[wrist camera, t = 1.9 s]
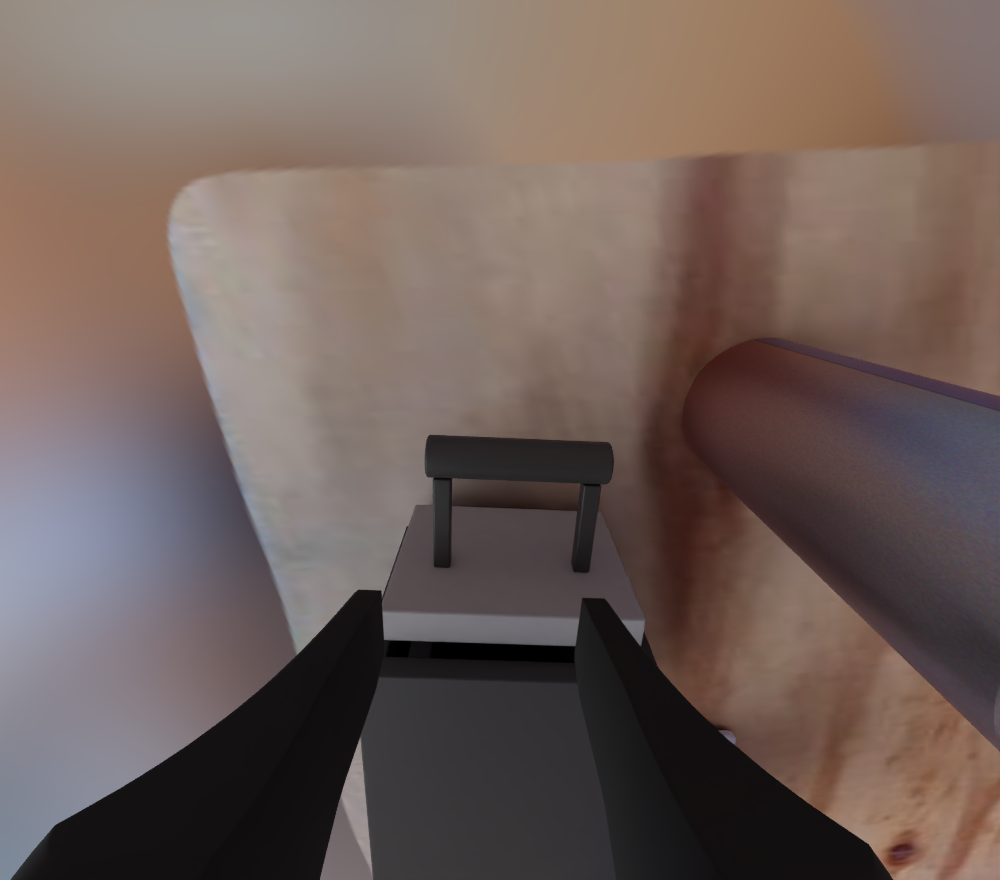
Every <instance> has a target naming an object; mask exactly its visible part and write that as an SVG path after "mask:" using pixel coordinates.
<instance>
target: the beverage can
mask: <svg viewBox="0 0 1000 880" xmlns="http://www.w3.org/2000/svg"><path fill="white" fill-rule="evenodd" d="M682 426H683V432H684V436H685V439H686V442H687V444H688V446H689V448H690V449H691V451H692V452H693V454H694V455H695V456H696V457H697V458H698V459H699V460H700V461H701V462H702V463H703V464H704V465H705V466H706V467H707V468H708V469H709V470H710V471H711V472H712V473H713V474H714V475H715V476H716V477H717V478H718V479H719V480H720V481H721V482H722V483H723V484H725V485H726V486H727V487H728V488H729V489H730V490H731V491H732V492H733V493H734V494H735V495H736V496H737V497H738V498H739V499H740V500H741V501H742V502H743V503H744V504H745V505H746V506H747V507H748V508H749V509H750V510H751V511H752V512H753V513H754V514H755V515H756V516H757V517H759V518H760V519H761V520H762V521H763V522H764V523H765V524H766V525H767V526H768V527H769V528H770V529H771V530H772V531H773V532H774V533H775V534H776V535H777V536H778V537H779V538H780V539H781V540H782V541H783V542H784V543H785V544H786V545H787V546H788V547H789V548H790V549H792V550H793V551H794V552H795V553H796V554H797V555H798V556H799V557H800V558H801V559H802V560H803V561H804V562H805V563H806V564H807V565H808V566H809V567H810V568H811V569H812V570H813V571H814V572H815V573H816V574H817V575H818V576H819V577H820V578H821V579H822V580H823V581H824V582H826V583H827V584H828V585H829V586H830V587H831V588H832V589H833V590H834V591H835V592H836V593H837V594H838V595H839V596H840V597H841V598H842V599H843V600H844V601H845V602H846V603H847V604H848V605H849V606H850V607H851V608H852V609H853V610H854V611H855V612H856V613H857V614H859V615H860V616H861V617H862V618H863V619H864V620H865V621H866V622H867V623H868V624H869V625H870V626H871V627H872V628H873V629H874V630H875V631H876V632H877V633H878V634H879V635H880V636H881V637H882V638H883V639H884V640H885V641H886V642H887V643H888V644H889V645H890V646H891V647H893V648H894V649H895V650H896V651H897V652H898V653H899V654H900V655H901V656H902V657H903V658H904V659H905V660H906V661H907V662H908V663H909V664H910V665H911V666H912V667H913V668H914V669H915V670H916V671H917V672H918V673H919V674H920V675H921V676H922V677H923V678H924V679H926V680H927V681H928V682H929V683H930V684H931V685H932V686H933V687H934V688H935V689H936V690H937V691H938V692H939V693H940V694H941V695H942V696H943V697H944V698H945V699H946V700H947V701H948V702H949V703H950V704H951V705H952V706H953V707H954V708H955V709H956V710H957V711H958V712H960V713H961V714H962V715H963V716H964V717H965V718H966V719H967V720H968V721H969V722H970V723H971V724H972V725H973V726H974V727H975V728H976V729H977V730H978V731H979V732H980V733H981V734H982V735H983V736H984V737H985V738H986V739H987V740H988V741H989V742H990V743H991V744H992V745H994V746H995V747H996V748H997V749H998V750H999V751H1000V396H996V395H992V394H988V393H985V392H981V391H977V390H973V389H969V388H966V387H962V386H958V385H954V384H950V383H947V382H943V381H939V380H935V379H931V378H928V377H924V376H920V375H916V374H912V373H909V372H905V371H901V370H897V369H893V368H889V367H886V366H882V365H878V364H874V363H870V362H867V361H863V360H859V359H855V358H851V357H848V356H844V355H840V354H836V353H832V352H829V351H825V350H821V349H817V348H813V347H809V346H806V345H802V344H798V343H794V342H790V341H787V340H782V339H775V338H763V339H755V340H750V341H747V342H743V343H740V344H738V345H735V346H733V347H731V348H729V349H727V350H726V351H724V352H722V353H721V354H719V355H718V356H717V357H715V358H714V359H713V360H712V361H710V362H709V363H708V364H707V365H706V366H705V367H704V368H703V370H702V371H701V372H700V373H699V374H698V376H697V377H696V379H695V380H694V382H693V383H692V385H691V387H690V389H689V391H688V394H687V396H686V399H685V403H684V407H683V414H682Z"/></svg>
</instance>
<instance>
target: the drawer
mask: <svg viewBox="0 0 1000 880" xmlns="http://www.w3.org/2000/svg"><path fill="white" fill-rule="evenodd" d="M613 466H614V457H613V450H612V446H611V444H610V443H608V442H589V441H565V440H542V439H518V438H494V437H470V436H446V435H429V436H428V438H427V442H426V448H425V473H426V476H427V477H433V505H416V506H415V508H414V511H413V514H412V517H411V520H410V523H409V526H408V529H407V532H406V535H405V538H404V541H403V543H402V546H401V549H400V552H399V555H398V558H397V561H396V564H395V567H394V570H393V573H392V576H391V579H390V581H389V584H388V587H387V590H386V593H385V596H384V599H383V602H382V611H383V629H384V640H401V641H411V644H410V648H409V652H408V657H409V658H440V659H471V660H502V661H533V662H564V663H575V660H574V654H575V646H576V639H577V631H578V624H579V617H580V609H581V602H582V598H605V599H606V600H607V602H608V603H609V604H610V606H611V607H612V608H613V610H614V611H615V613H616V614H617V615H618V617H619V618H620V620H621V621H622V622H623V624H624V625H625V626H626V628H627V629H628V630H629V632H630V633H631V634H632V636H633V637H634V638H635V640H636V641H637V642H638V643H639V645H640V646H641V643H642V638H643V633H644V628H645V623H646V619H645V616H644V614H643V612H642V609H641V607H640V604H639V602H638V599H637V597H636V595H635V592H634V590H633V587H632V585H631V583H630V580H629V578H628V575H627V573H626V571H625V568H624V566H623V563H622V561H621V559H620V556H619V554H618V551H617V549H616V546H615V544H614V542H613V539H612V537H611V534H610V532H609V530H608V527H607V525H606V522H605V520H604V518H603V515H602V513H601V512H598V506H599V499H600V492H601V485H600V484H608V483H609V482H610V481H611V478H612V474H613ZM452 478H458V479H483V480H508V481H533V482H558V483H581V484H580V492H579V501H578V509H577V511H561V510H536V509H510V508H484V507H459V506H452Z"/></svg>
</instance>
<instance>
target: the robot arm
mask: <svg viewBox="0 0 1000 880" xmlns="http://www.w3.org/2000/svg"><path fill="white" fill-rule="evenodd" d="M384 651H385V647H384V629H383V611H382V594H381V591H378V590H358V591H356V592H355V593H354V594H353V595H352V597H351V598H350V599H349V600H348V601H347V602H346V603H345V605H344V606H343V607H342V608H341V609H340V610H339V611H338V612H337V614H336V615H335V616H334V617H333V618H332V619H331V620H330V621H329V622H328V624H327V625H326V626H325V627H324V628H323V629H322V630H321V631H320V632H319V633H318V634H317V635H316V636H315V637H314V638H313V639H312V640H311V642H310V643H309V644H308V645H307V646H306V647H305V648H304V649H303V650H302V651H301V652H300V653H299V654H298V655H297V656H296V657H295V658H294V659H292V660H291V661H290V662H289V663H288V664H287V665H286V666H285V667H284V668H283V669H282V670H281V671H280V672H279V673H278V674H277V675H276V676H275V677H274V678H272V679H271V680H270V681H269V682H268V683H267V684H266V685H265V686H264V687H262V688H261V689H260V690H259V691H258V692H256V693H255V694H254V695H253V696H252V697H251V698H249V699H248V700H247V701H246V702H244V703H243V704H242V705H241V706H240V707H239V708H237V709H236V710H235V711H233V712H232V713H231V714H229V715H228V716H227V717H226V718H224V719H223V720H222V721H220V722H219V723H218V724H216V725H215V726H214V727H212V728H211V729H209V730H208V731H207V732H205V733H204V734H203V735H201V736H200V737H199V738H197V739H196V740H195V741H193V742H192V743H190V744H189V745H188V746H186V747H185V748H183V749H181V750H180V751H179V752H177V753H176V754H174V755H173V756H171V757H169V758H168V759H167V760H165V761H163V762H162V763H160V764H159V765H157V766H156V767H154V768H153V769H151V770H149V771H148V772H146V773H145V774H143V775H141V776H140V777H138V778H137V779H135V780H133V781H132V782H130V783H128V784H127V785H125V786H124V787H122V788H120V789H118V790H117V791H115V792H113V793H111V794H110V795H108V796H106V797H104V798H103V799H101V800H99V801H97V802H96V803H94V804H92V805H90V806H89V807H87V808H85V809H83V810H82V811H80V812H78V813H76V814H75V815H73V816H71V817H69V818H67V819H66V820H64V821H62V822H60V823H58V824H57V825H55V826H54V827H53V828H52V830H51V831H50V832H49V833H48V834H47V835H46V837H45V838H44V839H43V840H42V841H41V842H40V844H39V845H38V846H37V847H36V848H35V849H34V850H33V852H32V853H31V854H30V856H29V857H28V858H27V859H26V861H25V862H24V863H23V864H22V866H21V867H20V868H19V870H18V871H17V872H16V874H15V875H14V876H13V877H12V879H11V880H320V876H321V872H322V868H323V864H324V859H325V855H326V851H327V847H328V843H329V838H330V835H331V831H332V827H333V823H334V819H335V815H336V810H337V807H338V803H339V799H340V796H341V793H342V789H343V786H344V783H345V780H346V777H347V774H348V771H349V768H350V765H351V762H352V759H353V756H354V753H355V750H356V747H357V744H358V742H359V739H360V736H361V733H362V730H363V727H364V724H365V721H366V718H367V715H368V712H369V709H370V706H371V703H372V700H373V697H374V694H375V691H376V687H377V683H378V679H379V674H380V670H381V665H382V661H383V656H384ZM574 660H575V668H576V676H577V684H578V692H579V698H580V702H581V706H582V711H583V715H584V719H585V723H586V728H587V732H588V736H589V740H590V744H591V748H592V752H593V757H594V761H595V765H596V769H597V773H598V777H599V782H600V786H601V790H602V795H603V800H604V805H605V810H606V817H607V823H608V830H609V836H610V843H611V849H612V856H613V863H614V870H615V877H616V880H893V879H892V877H891V876H890V874H889V872H888V871H887V870H886V868H885V867H884V865H883V864H882V863H881V861H880V860H879V858H878V857H877V856H876V854H875V853H874V851H873V850H872V848H871V847H870V846H869V844H867V843H866V842H864V841H863V840H861V839H860V838H858V837H857V836H856V835H854V834H853V833H851V832H850V831H848V830H847V829H845V828H844V827H842V826H841V825H839V824H838V823H836V822H835V821H833V820H832V819H830V818H829V817H827V816H826V815H825V814H823V813H822V812H820V811H819V810H817V809H816V808H814V807H813V806H811V805H810V804H809V803H807V802H806V801H804V800H803V799H802V798H800V797H799V796H798V795H796V794H795V793H794V792H792V791H791V790H790V789H788V788H787V787H786V786H784V785H783V784H782V783H780V782H779V781H778V780H777V779H775V778H774V777H773V776H771V775H770V774H769V773H768V772H766V771H765V770H764V769H763V768H761V767H760V766H759V765H758V764H756V763H755V762H754V761H753V760H752V759H751V758H749V757H748V756H747V755H746V754H745V753H743V752H742V751H741V750H740V749H739V748H738V747H736V746H735V744H736V738H735V736H734V734H733V732H731V731H728V730H717V729H716V728H715V727H714V726H713V725H712V724H711V723H710V722H709V721H708V720H707V719H706V718H705V717H704V716H702V715H701V714H700V713H699V712H698V711H697V710H696V709H695V708H694V707H693V706H692V705H691V704H690V703H689V702H688V700H687V699H686V698H685V697H684V696H683V695H682V694H681V693H680V692H679V691H678V690H677V689H676V688H675V686H674V685H673V684H672V683H671V682H670V681H669V680H668V679H667V677H666V676H665V675H664V674H663V673H662V672H661V670H660V669H659V668H658V667H657V666H656V665H655V663H654V662H653V661H652V660H651V658H650V657H649V656H648V655H647V653H646V652H645V651H644V650H643V649H642V647H641V646H640V645H639V643H638V642H637V641H636V640H635V638H634V637H633V636H632V634H631V633H630V632H629V630H628V629H627V628H626V626H625V625H624V624H623V622H622V621H621V620H620V618H619V617H618V615H617V614H616V613H615V611H614V610H613V608H612V607H611V606H610V604H609V603H608V602H607V600H606V599H605V598H582V602H581V609H580V617H579V624H578V631H577V639H576V646H575V654H574Z"/></svg>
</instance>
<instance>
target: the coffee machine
mask: <svg viewBox="0 0 1000 880" xmlns="http://www.w3.org/2000/svg"><path fill="white" fill-rule="evenodd" d="M407 529H408V527H407V528H406V531H405V533H404V537H403V539H402V542H401V545H400V548H399V551H398V554H397V557H396V560H395V562H394V565H393V568H392V571H391V574H390V577H389V580H388V583H387V585H386V588H385V591H384V594H383V597H382V602H383V599H384V596H385V593H386V590H387V587H388V584H389V581H390V579H391V576H392V573H393V570H394V567H395V564H396V561H397V558H398V555H399V552H400V549H401V546H402V543H403V541H404V538H405V535H406V532H407ZM410 644H411V641H401V640H384V647H385V651H384V656H383V661H382V665H381V670H380V674H379V679H378V683H377V687H376V691H375V694H374V697H373V700H372V703H371V706H370V709H369V712H368V715H367V718H366V721H365V724H364V727H363V730H362V733H361V736H360V737H361V748H362V760H363V771H364V782H365V793H366V805H367V816H368V827H369V838H370V850H371V861H372V872H373V880H616V877H615V870H614V863H613V856H612V849H611V843H610V836H609V830H608V823H607V817H606V810H605V805H604V800H603V795H602V790H601V786H600V782H599V777H598V773H597V769H596V765H595V761H594V757H593V752H592V748H591V744H590V740H589V736H588V732H587V728H586V723H585V719H584V715H583V711H582V706H581V702H580V698H579V692H578V684H577V676H576V668H575V663H564V662H533V661H502V660H471V659H440V658H409V657H408V652H409V648H410ZM641 647H642V649H643V650H644V651H645V652H646V653H647V655H648V656H649V657H650V658H651V660H652V661H653V662H654V663H655V665H656V666H657V663H656V661H655V658H654V656H653V653H652V651H651V648H650V645H649V643H648V640H647V638H646V635H645V633H643V638H642V643H641ZM657 667H658V666H657Z"/></svg>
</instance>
